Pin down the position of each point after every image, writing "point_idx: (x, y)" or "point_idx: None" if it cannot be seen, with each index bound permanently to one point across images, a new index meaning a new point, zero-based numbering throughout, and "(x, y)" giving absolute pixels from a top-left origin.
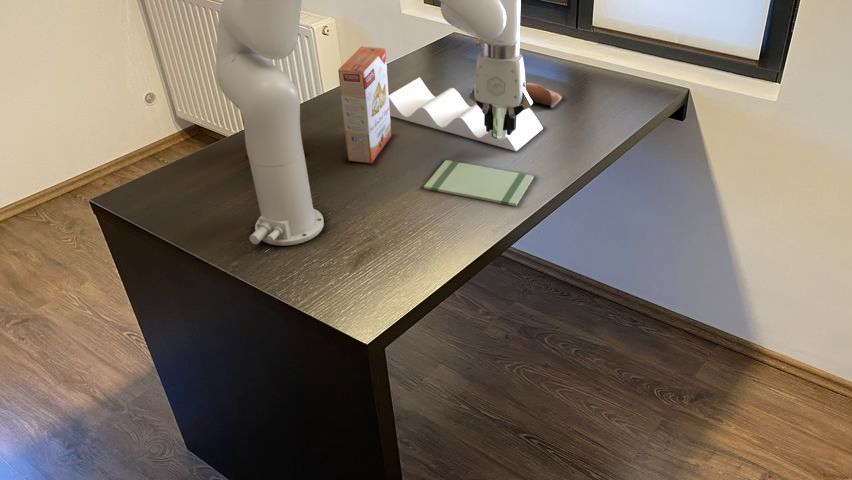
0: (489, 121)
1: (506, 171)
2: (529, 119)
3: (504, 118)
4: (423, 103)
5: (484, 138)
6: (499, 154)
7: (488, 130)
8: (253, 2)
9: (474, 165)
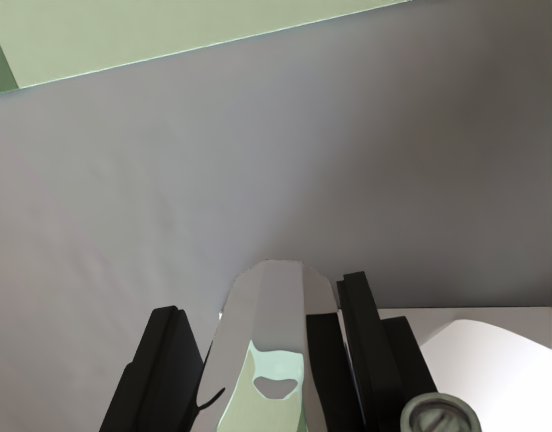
0: (350, 344)
1: (96, 59)
2: None
3: (180, 421)
4: None
5: (426, 322)
6: (279, 241)
7: (345, 282)
8: None
9: (327, 11)
